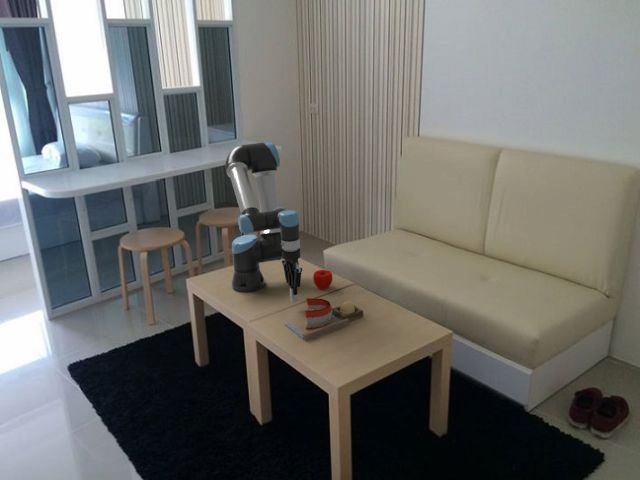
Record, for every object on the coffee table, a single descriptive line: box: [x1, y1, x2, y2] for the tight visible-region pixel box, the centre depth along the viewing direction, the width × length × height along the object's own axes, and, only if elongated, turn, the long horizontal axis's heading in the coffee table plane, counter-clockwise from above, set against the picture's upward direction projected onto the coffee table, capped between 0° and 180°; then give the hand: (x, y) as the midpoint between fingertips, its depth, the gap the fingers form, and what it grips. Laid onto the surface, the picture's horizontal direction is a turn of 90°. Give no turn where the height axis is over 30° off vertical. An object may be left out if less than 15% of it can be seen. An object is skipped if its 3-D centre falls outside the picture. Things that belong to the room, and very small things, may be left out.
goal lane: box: [284, 311, 350, 342], centre depth 227 cm, size 16×20×2 cm
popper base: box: [331, 305, 364, 323], centre depth 233 cm, size 9×9×3 cm
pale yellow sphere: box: [339, 300, 355, 315], centre depth 232 cm, size 6×6×6 cm
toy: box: [304, 297, 333, 331], centre depth 228 cm, size 12×10×8 cm
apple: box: [312, 269, 333, 291], centre depth 258 cm, size 9×9×8 cm
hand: (294, 300), depth 240 cm, fingers closed
